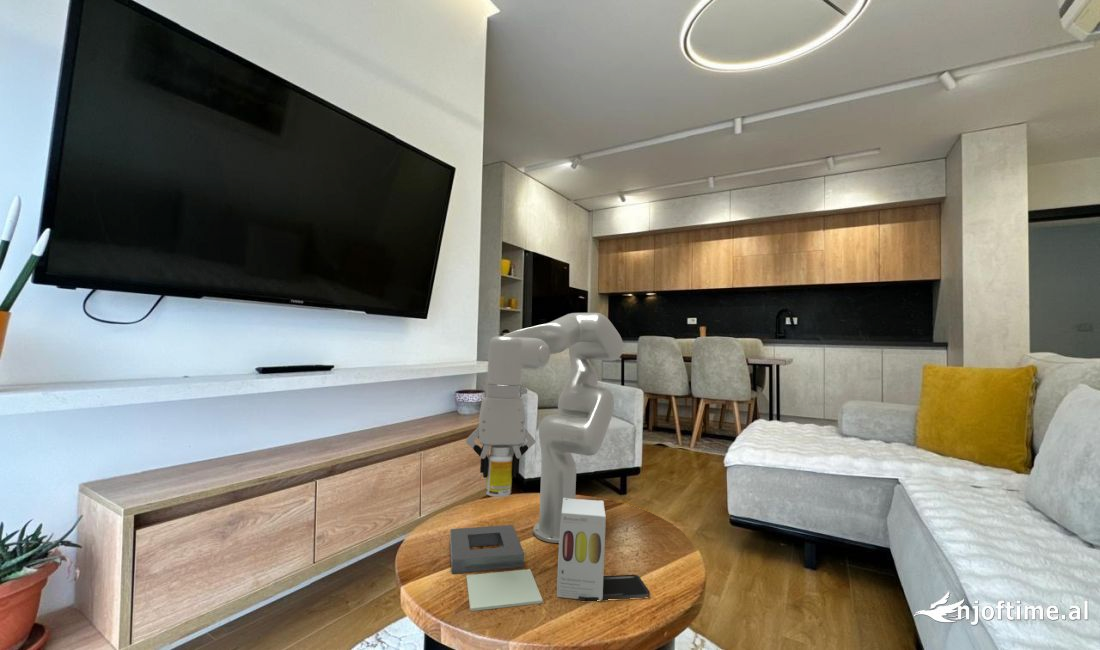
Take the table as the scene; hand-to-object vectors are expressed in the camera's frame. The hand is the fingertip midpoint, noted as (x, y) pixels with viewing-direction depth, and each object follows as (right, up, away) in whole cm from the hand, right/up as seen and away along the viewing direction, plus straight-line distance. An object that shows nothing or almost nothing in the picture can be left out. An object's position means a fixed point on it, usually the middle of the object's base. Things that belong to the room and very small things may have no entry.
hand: (499, 474), depth 94 cm
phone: (+24, -23, -4) cm, 33 cm away
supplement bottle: (0, -4, 0) cm, 4 cm away
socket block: (-5, -22, +9) cm, 25 cm away
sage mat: (+1, -22, -6) cm, 22 cm away
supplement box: (+17, -23, -4) cm, 29 cm away
